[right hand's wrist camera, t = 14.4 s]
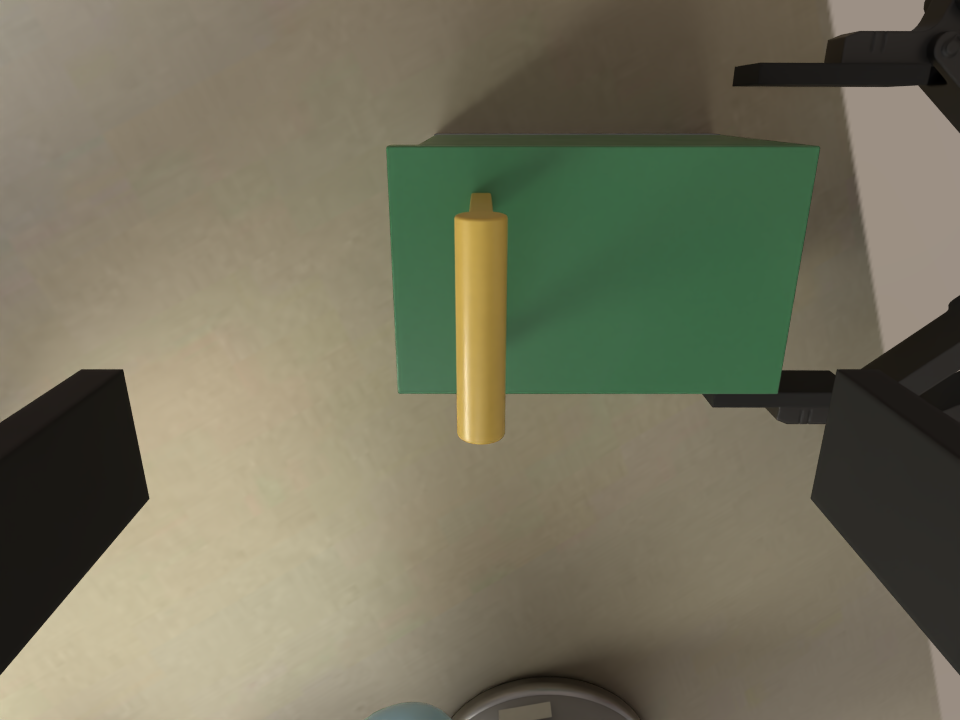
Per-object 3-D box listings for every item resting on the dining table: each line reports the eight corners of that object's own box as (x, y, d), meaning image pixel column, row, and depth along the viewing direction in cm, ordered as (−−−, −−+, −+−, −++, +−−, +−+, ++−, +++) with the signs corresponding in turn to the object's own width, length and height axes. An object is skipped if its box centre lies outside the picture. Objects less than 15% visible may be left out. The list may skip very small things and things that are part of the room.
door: (400, 385, 27) (370, 487, 20) (389, 144, 23) (348, 161, 16) (769, 385, 27) (875, 487, 19) (809, 144, 23) (954, 161, 16)
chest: (439, 311, 36) (424, 385, 27) (435, 133, 33) (416, 144, 23) (692, 311, 36) (769, 385, 27) (713, 133, 33) (809, 144, 23)
